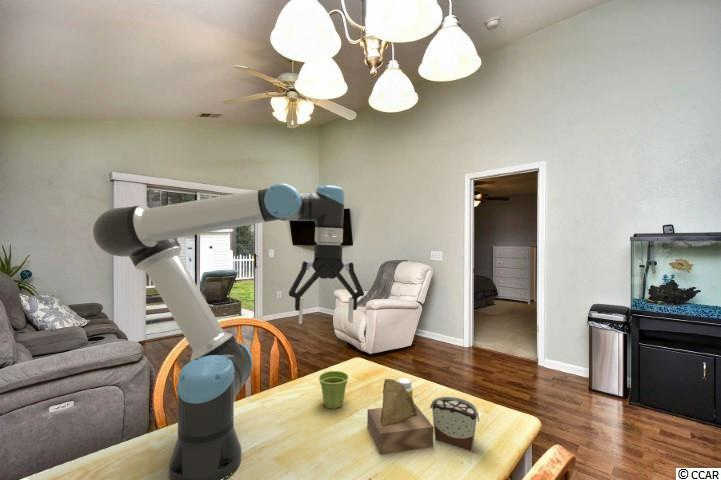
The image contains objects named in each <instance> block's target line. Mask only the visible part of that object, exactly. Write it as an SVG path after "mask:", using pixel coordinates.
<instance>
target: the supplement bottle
mask: <svg viewBox="0 0 721 480" xmlns="http://www.w3.org/2000/svg"><path fill="white" fill-rule="evenodd" d="M397 382H398V383H400V384H401V385H403V386H404V388H405V390H406V391H407V392H408V394H409V395H410V396H411V397H412V398H413V387H412V380H411V379H410V378H409V377H408V378H407V377H401V378H399V379H398V381H397Z"/></svg>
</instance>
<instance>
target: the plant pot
mask: <svg viewBox="0 0 721 480" xmlns="http://www.w3.org/2000/svg"><path fill="white" fill-rule="evenodd" d="M349 378H350V376H349V375H348V373H346V372H344V371H340V370H331V371H324V372H323V373H320V375H319V376H318V381H319V383H320V386H321V387H320V388H321V393H322V401H323V405H324V406H325V408H327V409H338V408H339V407H343V405H344V402H345V401H344V400H345V393H346V387H347V383H348V381H349Z"/></svg>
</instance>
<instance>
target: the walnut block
mask: <svg viewBox="0 0 721 480" xmlns="http://www.w3.org/2000/svg"><path fill="white" fill-rule="evenodd" d="M415 407H416V410H417V414H415V415H412V416H409V417H408V418H406V419H404V420H402V421H400V422H397V423H393V424H386V425H385V426H383V425H382V423H381V414H382V407H378V408H369V409H367V419H366V420H367V425H366V426H367V430H368V431H369V434H370V436H371V439H372V440H373V442H374V445H375V446H376V449H377V451H378V453H379V455H386V454H390V453H391V454H392V453H395V452H396V453H397V452H403V451H410V450H417V449H424V448H431V447H434V424H432V423H431V422H430V421H429V419H428V418H427V416H425V415H424V413H423V412H422V411H421V409H420V408H419V407H418V405H416V404H415Z"/></svg>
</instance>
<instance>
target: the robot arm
mask: <svg viewBox="0 0 721 480" xmlns="http://www.w3.org/2000/svg"><path fill="white" fill-rule="evenodd" d="M344 216H345V192H344V189H343V188H342V187H341V186H336V185H319V186H317V187H316V191H315V192H313V193H311V192H310V193H309V192H299V191H298V189H296V188H295V187H294V186H292V185H290V184H287V183H282V182H281V183H276V184H273V185H272V186H270V187H269V188H268V187H267V188H263V189H256V190H249V191H245V192H238V193H233V194H226V195H220V196H215V197H210V198H203V199H197V200H190V201H186V202H179V203H173V204H168V205H162V206H156V207H149V206H147V205H145V204H139V205H133V206H125V207H114V208H111V209H108V210H106V211H104V212H103V213H102V214H100V215H99V216H98V217H97V219H96V220H95V222H94V223H93V229H92V235H93V239H94V241H95V243H96V245H97V246H98V247H99V248H100V249H101V250H102V251H103V252H105V253H107V254H108V255H112V256H116V257H129V259H130V261H131V262H132V264H133V266H134V267H135V269H137V270H140V271H145V272H146V274H147V276H148V277H149V279H150V281H151V283H152V284H153V286H154V288H155V289H156V291H157V292H158V294H159V297H161V300H162V301H163V303H164V304H165V306H166V308H167V309H168V311H169V313H170V314H171V316H172V318H173V319H174V321H175V323H176V325H177V326H178V328H179V329H180V331H181V333H182V334H183V336H184V338H185V340H186V341H187V343H188V345H189V346H190V348H191V350H192V354H191V356H190V361H189V362H188V363H186V364H185V365H184V366H183V367H181V369H180V372H179V374H178V379H177V385H176V391H177V439H176V442H175V446H174V449H173V452H172V455H171V458H170V461H169V465H168V479H169V478H170V480H221V479H223V478H226V477H227V476H229V475H230V474H231V473H233V472H234V471H235V470H236V469H237V470H238V469H239V467H240V465H241V463H242V447H241V443H240V441H239V438H238V435H237V432H236V430H235V426H234V421H235V420H234V418H235V417H234V416H235V415H234V410H235V409H234V408H235V407H234V405H235V404H234V403H235V398H236V397H237V395H238V394H239V393H240V391H241V390H242V388H243V386H244V385H245V384H246V383H247V381H248V379H249V378H250V375H251V372H252V369H253V364H254V363H253V357H252V353H251V352H250V350H249V348H248V347H247V346H246V345H244V344H243V343H240V342H238V341H237V339H236V338H235V336H234V334H233V333H230V332H225V331H224V329H223V328H222V326H221V324H220V323H219V321H218V319H217V318H216V316H215V314H214V313H213V311H212V309H211V308H210V306H209V304H208V302H207V301H206V298H205V297H204V295H203V293H202V292H201V290H200V289H199V287H198V285H197V283H196V282H195V280H194V279H193V277H192V275H191V274H190V273H191V272H190V271H189V270H188V268H187V267H186V265H185V264H184V262H183V260H182V258H181V257H180V253H181V251H182V246H181V244H180V243H179V240H178V238H183V237H187V236H188V237H190V236H195V235H198V234H199V235H200V234H206V233H211V232H217V231H221V230H223V231H224V230H227V229H228V230H229V229H234V228H239V227H244V226H251V225H256V224H262V223H267V222H274V221H284V222H285V221H296V222H298V221H299V222H303V221H305V222H314V223H315V224H314V225H315V227H314V230H315V231H314V242H315V243H316V244H315V245H314V249H313V250H314V254H313V262H311V261H310V262H309V261H306V260H303V261H302V263H301V267H300V268H301V269H300V271H299V273H298V275H296V276H297V277H296V278H295V280H294V281H293V283H292V285H291V287H290V289H289V290H288V295H289V297H292V298H294V299H295V300H294V308H295V311H297V312H298V324H299V325H303V315H304V314H303V312H304V311H303V309H304V299H303V295H304V294H305V293H306V292H307V291H308V290H309V288H310V287H311V286H312V285H313V284H314V283H315V282H316V281H317V280H318V279H319V278H320V279H324V280H325V279H331V280H334V279H335V278H337V279H338V280H339V282H340V283H341V285H343V287H344V288H345V289H346V291H348V293H349V295H350V297H348V309H347V310H348V314H347V315H348V316H347V317H348V318H347V321H348V323H349V324H353V323H354V321H353V320H354V311H357V308H358V299H359V298H361V297H363V296H365V293H364V290H363V288H362V286H361V283H360V281H359V279H358V276H357V274H356V272H355V268H354V263H353V262H351V261H348V262H343V246H342V244H343V241H344V239H343V237H344V218H345V217H344ZM311 268H312V269H313V270H314V272H313V274H311V276H310V277H309V278H308V279H307V281H306V282H305V283H303V285H302V286H301V287H300V288H299V289H298V287H299V285H300V283H301V282H302V280H303V278H304V276H305V275H306V273H307V271H308V270H310V269H311ZM343 269H345V270H346V271H347V272H348V274H349V276H350V279H351V280H352V283H353V285H354V287H355V290H356V291H355V290H354V289H353V288H352V286H351V285H350V284H349V283H348V281H347V280H346V278H345V277H344V276H343V275H342V274H341V272H342V270H343ZM297 289H298V290H297ZM296 291H297V292H296ZM238 466H239V467H238ZM237 470H236V471H237ZM236 471H235V472H236ZM235 472H234V473H235ZM234 473H233V474H234ZM230 476H231V475H230ZM230 476H229V477H230ZM226 479H227V478H226Z"/></svg>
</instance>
